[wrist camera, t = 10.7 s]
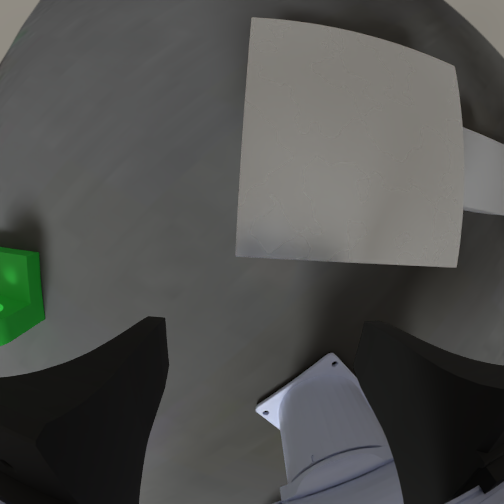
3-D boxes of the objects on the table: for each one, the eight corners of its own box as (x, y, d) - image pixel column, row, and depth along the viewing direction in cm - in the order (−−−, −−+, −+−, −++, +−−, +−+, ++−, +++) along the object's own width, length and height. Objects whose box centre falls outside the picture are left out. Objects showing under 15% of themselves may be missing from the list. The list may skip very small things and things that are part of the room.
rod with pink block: (524, 234, 19) (560, 242, 14) (367, 210, 18) (405, 214, 13) (526, 164, 18) (562, 162, 13) (370, 110, 17) (404, 86, 12)
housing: (400, 248, 20) (456, 267, 13) (239, 237, 20) (235, 256, 13) (404, 96, 18) (454, 66, 11) (250, 71, 18) (251, 17, 11)
